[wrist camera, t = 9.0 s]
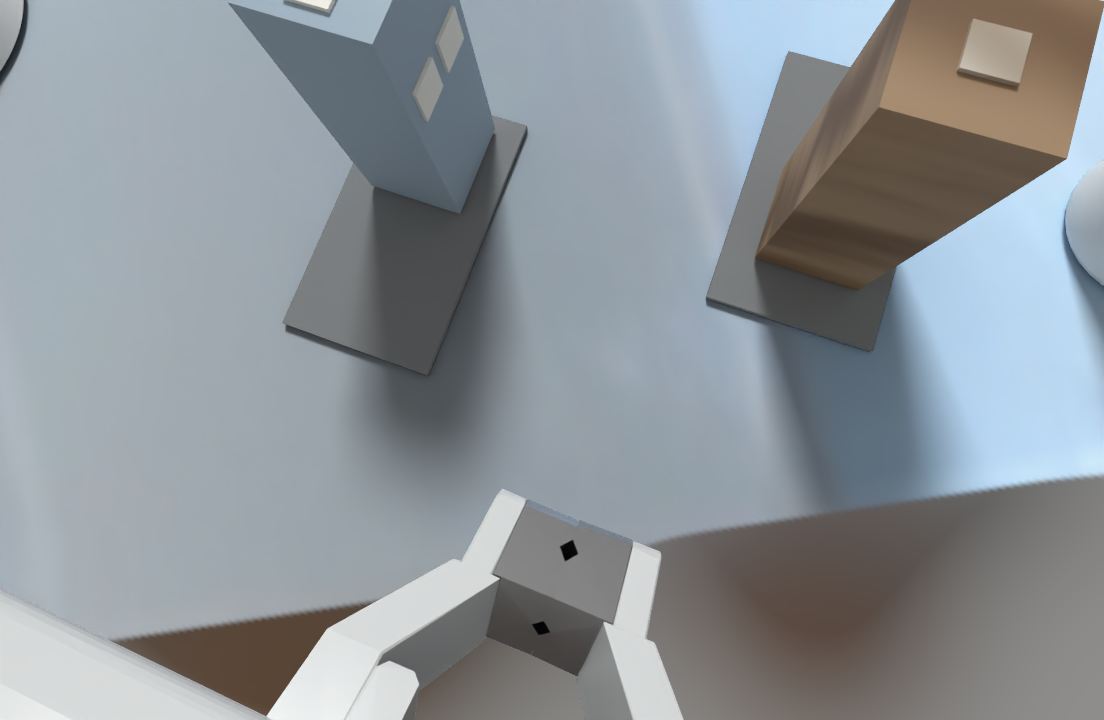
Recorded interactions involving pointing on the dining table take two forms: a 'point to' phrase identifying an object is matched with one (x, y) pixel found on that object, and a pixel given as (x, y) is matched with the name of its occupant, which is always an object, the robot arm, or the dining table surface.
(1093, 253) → the milk bottle
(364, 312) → the grey flat block
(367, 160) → the rectangular block
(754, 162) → the grey rectangular plate
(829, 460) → the dining table surface
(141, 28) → the dining table surface
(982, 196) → the wooden box
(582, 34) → the dining table surface
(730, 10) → the dining table surface
